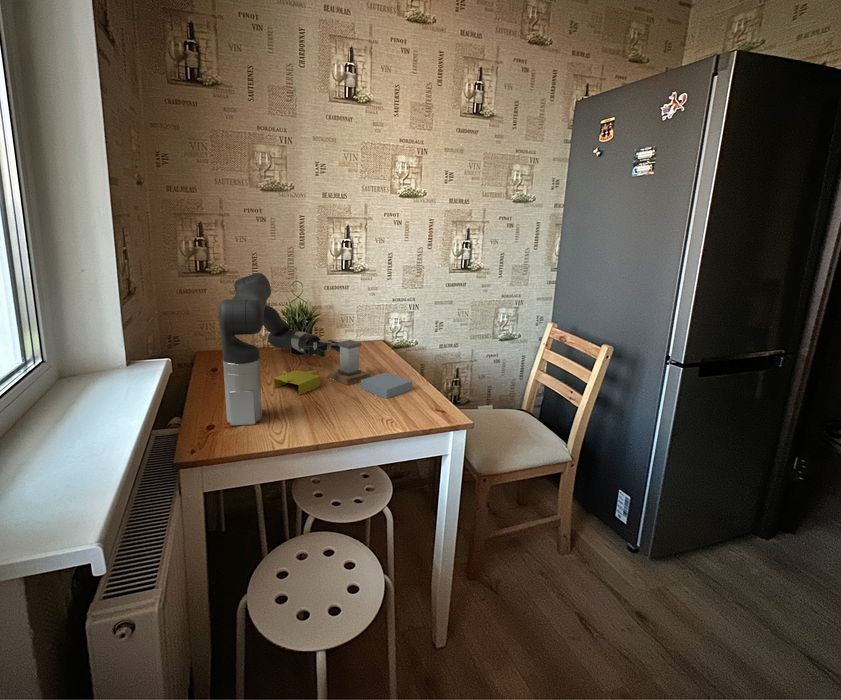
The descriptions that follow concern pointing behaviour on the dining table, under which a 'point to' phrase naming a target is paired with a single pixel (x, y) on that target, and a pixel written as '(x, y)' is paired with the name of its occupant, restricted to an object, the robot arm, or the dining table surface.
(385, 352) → the dining table surface
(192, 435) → the dining table surface
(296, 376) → the bracket
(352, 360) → the post
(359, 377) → the stand
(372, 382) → the stand
